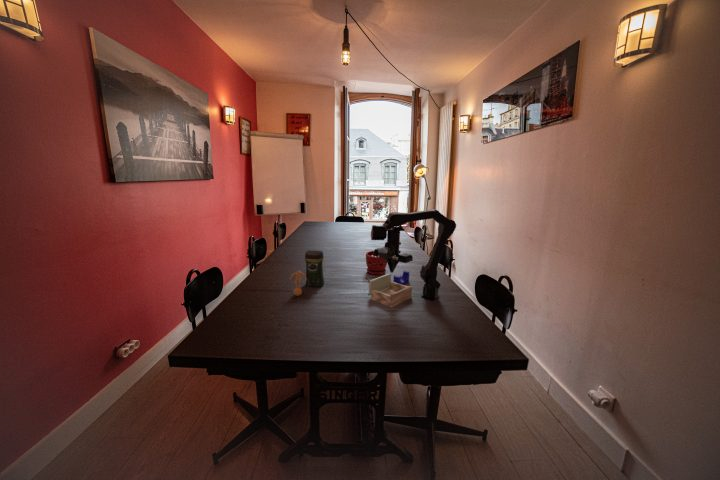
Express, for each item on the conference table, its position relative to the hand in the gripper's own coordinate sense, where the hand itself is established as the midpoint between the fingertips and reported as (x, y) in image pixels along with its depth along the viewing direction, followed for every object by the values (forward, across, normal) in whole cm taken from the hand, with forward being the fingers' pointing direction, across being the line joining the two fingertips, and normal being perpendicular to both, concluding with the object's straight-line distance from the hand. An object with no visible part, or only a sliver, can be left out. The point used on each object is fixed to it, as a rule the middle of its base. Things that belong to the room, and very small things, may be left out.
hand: (391, 272), depth 139 cm
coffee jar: (+13, -39, -15) cm, 44 cm away
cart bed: (+13, 0, 0) cm, 13 cm away
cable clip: (+13, -8, +19) cm, 25 cm away
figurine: (+13, -34, -29) cm, 47 cm away
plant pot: (+13, -29, +24) cm, 40 cm away
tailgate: (+11, -7, 0) cm, 13 cm away
